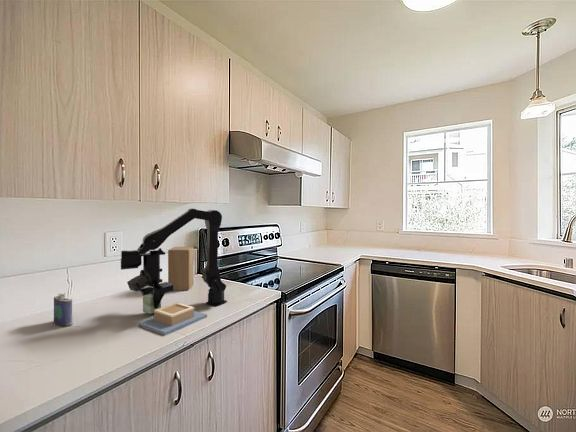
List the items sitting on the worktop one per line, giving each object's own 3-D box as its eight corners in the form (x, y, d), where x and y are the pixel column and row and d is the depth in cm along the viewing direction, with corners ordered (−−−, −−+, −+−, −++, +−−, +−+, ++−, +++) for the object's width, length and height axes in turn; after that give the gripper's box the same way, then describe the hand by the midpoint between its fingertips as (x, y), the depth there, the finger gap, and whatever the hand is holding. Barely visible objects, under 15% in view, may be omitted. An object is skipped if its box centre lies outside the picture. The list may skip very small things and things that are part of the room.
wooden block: (174, 285, 149) (173, 246, 148) (193, 284, 150) (193, 246, 149) (167, 290, 139) (167, 249, 138) (189, 290, 140) (189, 249, 139)
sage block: (153, 307, 113) (153, 292, 113) (160, 310, 111) (160, 294, 111) (142, 311, 109) (142, 295, 109) (150, 313, 107) (150, 297, 107)
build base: (182, 309, 115) (181, 298, 115) (207, 316, 108) (207, 304, 107) (139, 325, 99) (138, 312, 99) (165, 335, 92) (165, 321, 92)
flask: (74, 324, 99) (73, 294, 99) (64, 328, 97) (63, 296, 96) (60, 319, 104) (59, 290, 103) (50, 322, 101) (49, 292, 101)
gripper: (116, 267, 107) (116, 308, 108) (146, 274, 98) (147, 319, 98) (144, 262, 117) (144, 300, 117) (174, 268, 107) (174, 309, 108)
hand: (151, 307), depth 110 cm, fingers closed on sage block, 4 cm apart
